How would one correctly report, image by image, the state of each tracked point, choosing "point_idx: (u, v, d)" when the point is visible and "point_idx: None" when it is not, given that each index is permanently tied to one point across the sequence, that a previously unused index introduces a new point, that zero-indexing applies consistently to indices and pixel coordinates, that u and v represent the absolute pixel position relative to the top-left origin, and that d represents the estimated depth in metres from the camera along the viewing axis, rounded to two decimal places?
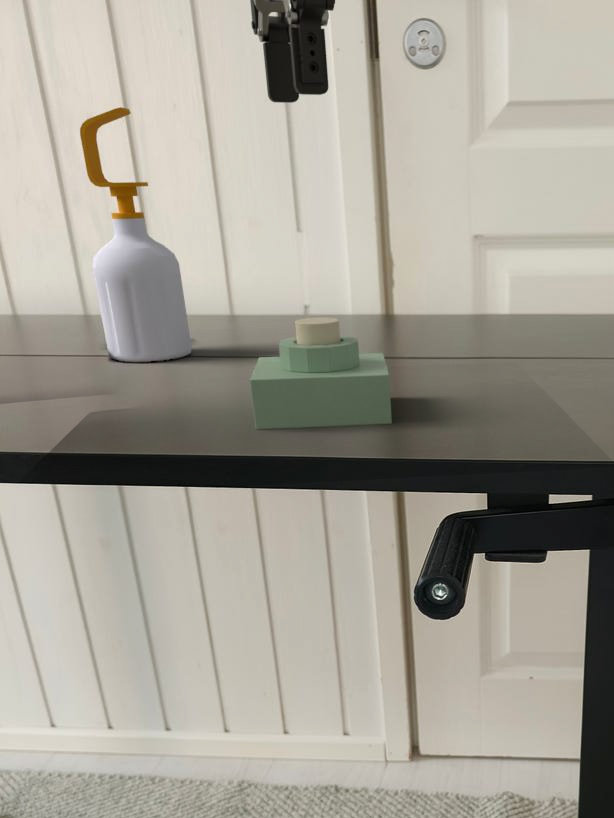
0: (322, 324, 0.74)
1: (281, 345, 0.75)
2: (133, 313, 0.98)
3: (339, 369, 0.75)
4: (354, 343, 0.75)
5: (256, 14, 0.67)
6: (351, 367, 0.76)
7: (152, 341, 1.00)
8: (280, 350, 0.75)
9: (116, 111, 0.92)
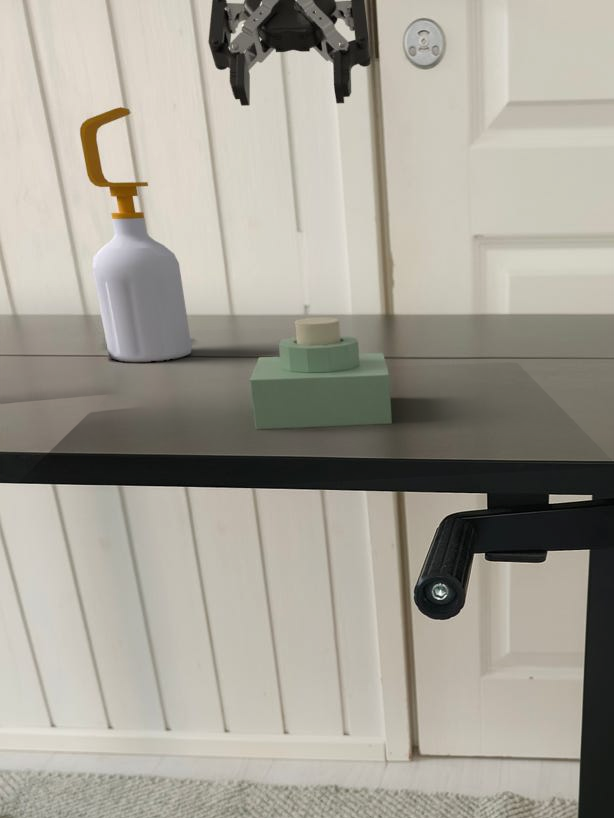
0: (322, 324, 0.74)
1: (281, 345, 0.75)
2: (133, 313, 0.98)
3: (339, 369, 0.75)
4: (354, 343, 0.75)
5: (222, 37, 0.82)
6: (351, 367, 0.76)
7: (152, 341, 1.00)
8: (280, 350, 0.75)
9: (116, 111, 0.92)
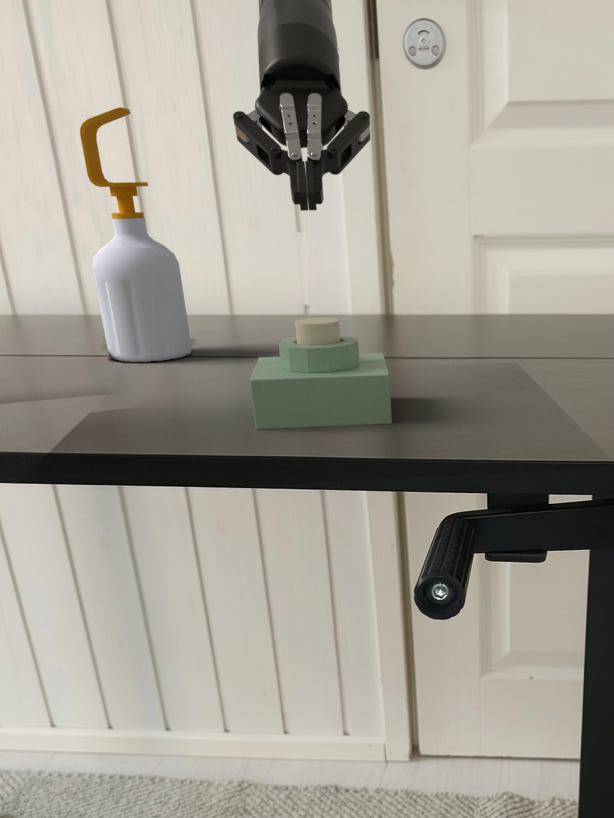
0: (322, 324, 0.74)
1: (281, 345, 0.75)
2: (133, 313, 0.98)
3: (339, 369, 0.75)
4: (354, 343, 0.75)
5: (275, 142, 0.82)
6: (351, 367, 0.76)
7: (152, 341, 1.00)
8: (280, 350, 0.75)
9: (116, 111, 0.92)
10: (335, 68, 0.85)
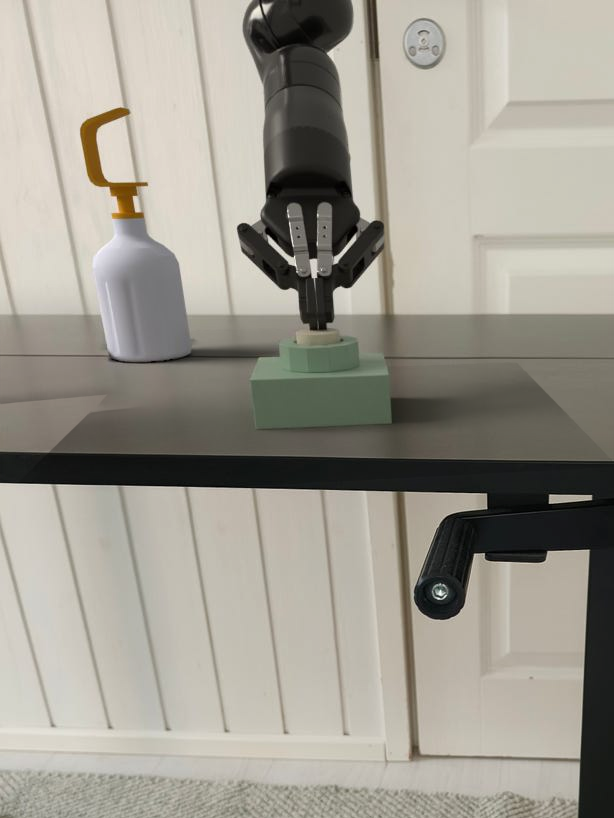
0: (323, 335, 0.74)
1: (281, 345, 0.75)
2: (133, 313, 0.98)
3: (339, 369, 0.75)
4: (354, 343, 0.75)
5: (282, 257, 0.76)
6: (351, 367, 0.76)
7: (152, 341, 1.00)
8: (280, 350, 0.75)
9: (116, 111, 0.92)
10: (346, 173, 0.79)
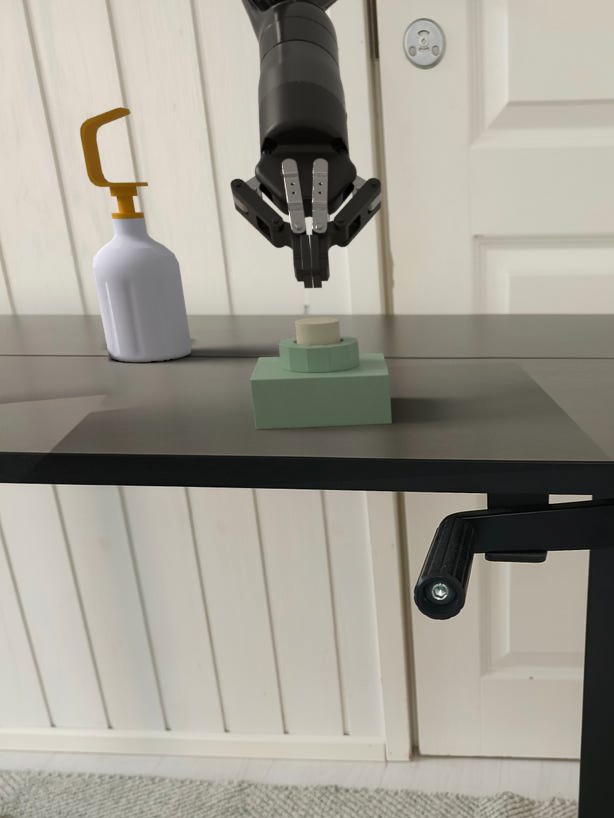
0: (322, 324, 0.74)
1: (281, 345, 0.75)
2: (133, 313, 0.98)
3: (339, 369, 0.75)
4: (354, 343, 0.75)
5: (276, 213, 0.74)
6: (351, 367, 0.76)
7: (152, 341, 1.00)
8: (280, 350, 0.75)
9: (116, 111, 0.92)
10: (343, 130, 0.77)
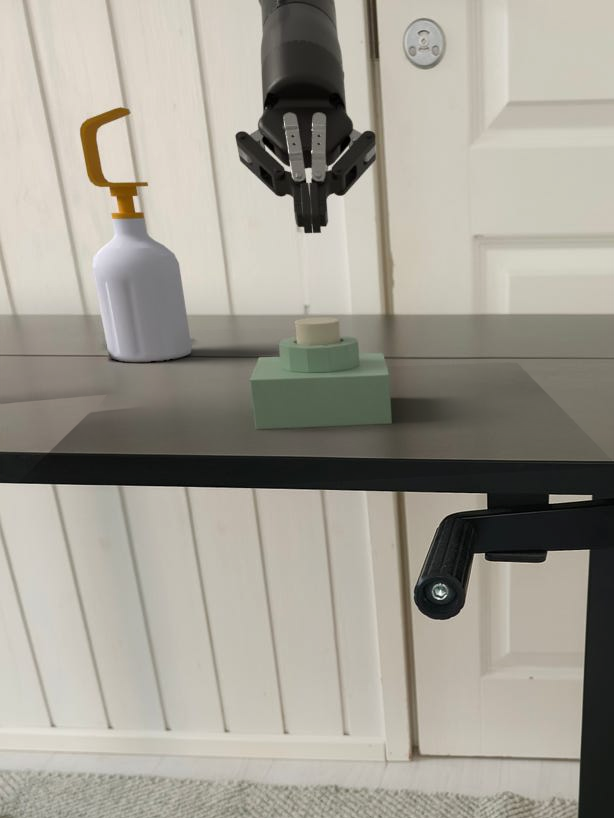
0: (322, 324, 0.74)
1: (281, 345, 0.75)
2: (133, 313, 0.98)
3: (339, 369, 0.75)
4: (354, 343, 0.75)
5: (278, 163, 0.80)
6: (351, 367, 0.76)
7: (152, 341, 1.00)
8: (280, 350, 0.75)
9: (116, 111, 0.92)
10: (340, 86, 0.83)
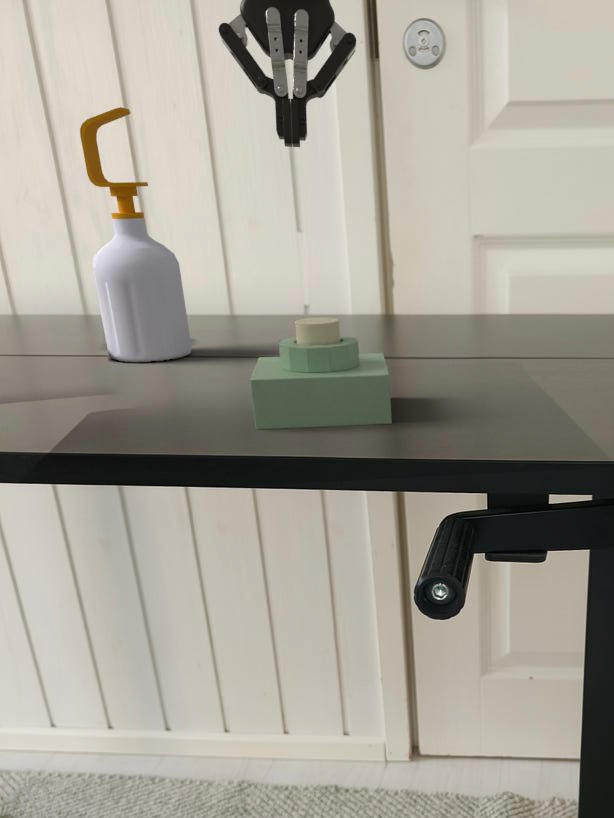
0: (322, 324, 0.74)
1: (281, 345, 0.75)
2: (133, 313, 0.98)
3: (339, 369, 0.75)
4: (354, 343, 0.75)
5: (261, 69, 0.84)
6: (351, 367, 0.76)
7: (152, 341, 1.00)
8: (280, 350, 0.75)
9: (116, 111, 0.92)
10: None
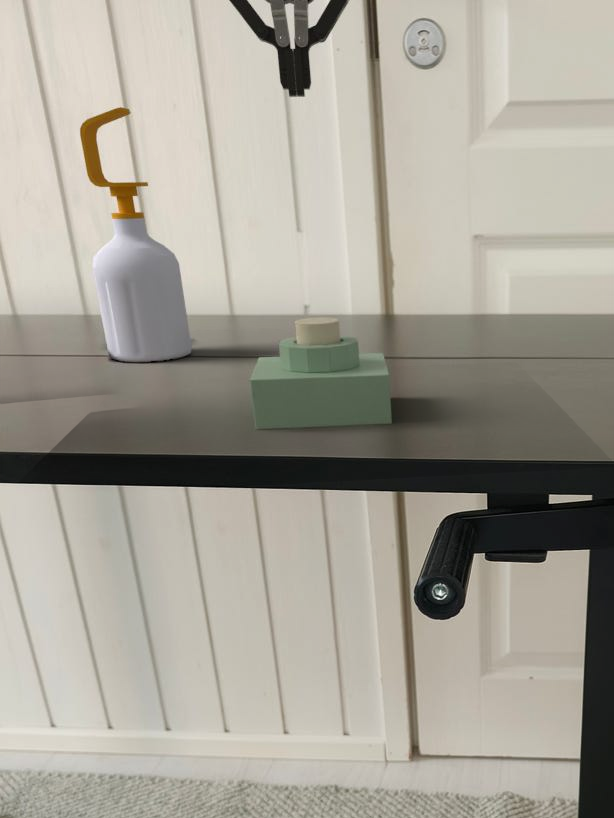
0: (322, 324, 0.74)
1: (281, 345, 0.75)
2: (133, 313, 0.98)
3: (339, 369, 0.75)
4: (354, 343, 0.75)
5: (261, 19, 0.82)
6: (351, 367, 0.76)
7: (152, 341, 1.00)
8: (280, 350, 0.75)
9: (116, 111, 0.92)
10: None
